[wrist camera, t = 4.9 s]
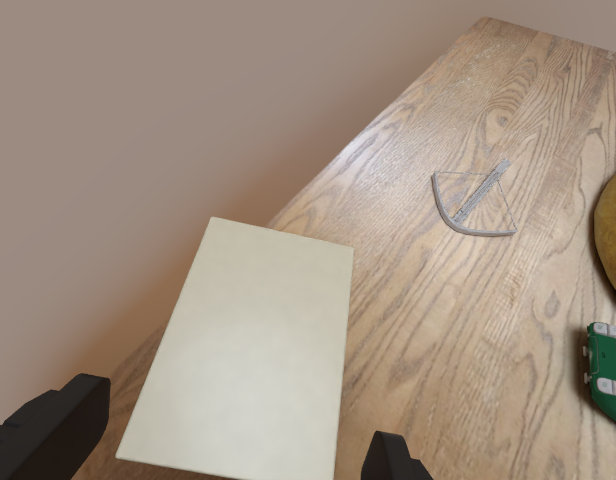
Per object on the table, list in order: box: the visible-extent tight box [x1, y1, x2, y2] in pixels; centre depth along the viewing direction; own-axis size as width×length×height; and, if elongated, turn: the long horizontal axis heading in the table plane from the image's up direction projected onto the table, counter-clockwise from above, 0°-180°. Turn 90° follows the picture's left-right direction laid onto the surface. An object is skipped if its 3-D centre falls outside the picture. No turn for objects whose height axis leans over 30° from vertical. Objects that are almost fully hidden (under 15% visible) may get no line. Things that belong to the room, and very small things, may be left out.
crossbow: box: [432, 159, 518, 236], centre depth 40 cm, size 16×13×2 cm
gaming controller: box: [583, 322, 616, 421], centre depth 29 cm, size 9×4×6 cm
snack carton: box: [115, 217, 355, 480], centre depth 12 cm, size 5×6×11 cm
